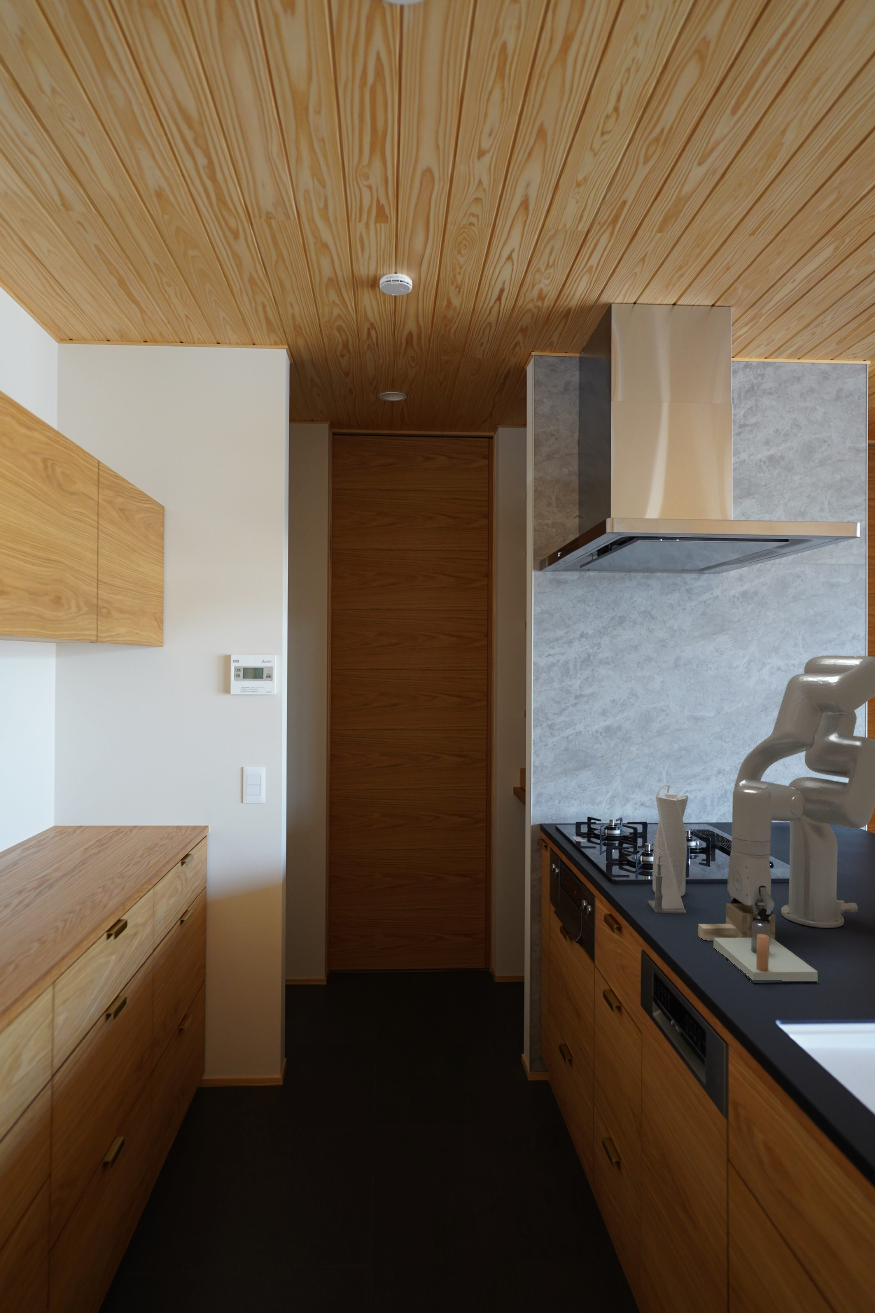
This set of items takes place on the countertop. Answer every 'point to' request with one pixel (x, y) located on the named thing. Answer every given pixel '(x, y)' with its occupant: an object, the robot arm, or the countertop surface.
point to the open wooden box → (734, 924)
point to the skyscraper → (670, 853)
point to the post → (758, 932)
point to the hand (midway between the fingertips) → (749, 928)
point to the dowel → (762, 952)
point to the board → (780, 960)
